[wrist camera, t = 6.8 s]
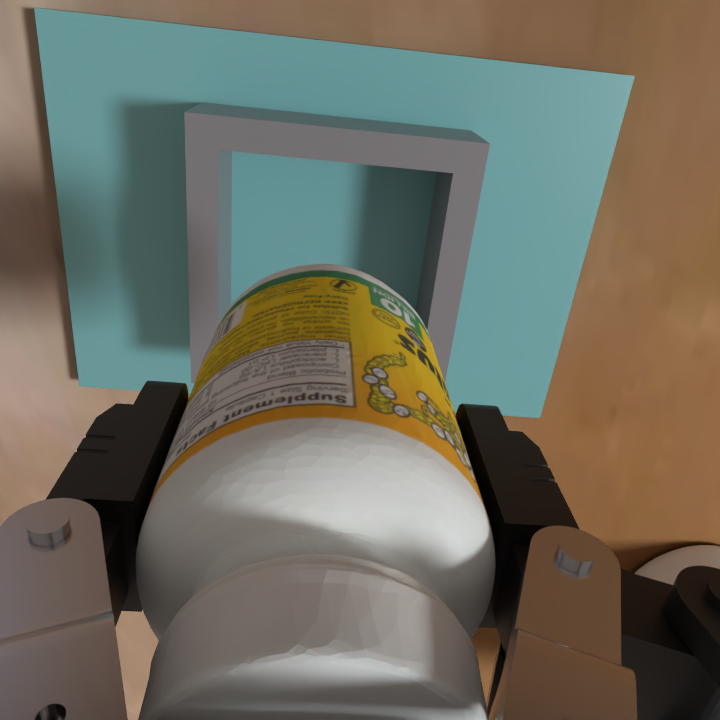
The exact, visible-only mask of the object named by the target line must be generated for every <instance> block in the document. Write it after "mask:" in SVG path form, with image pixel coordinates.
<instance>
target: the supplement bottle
mask: <svg viewBox="0 0 720 720" xmlns="http://www.w3.org/2000/svg"><path fill="white" fill-rule="evenodd" d="M495 568H496V563H495V547H494V540H493V535H492V530H491V525H490V521H489V517H488V515H487V512H486V509H485V506H484V503H483V500H482V497H481V494H480V491H479V488H478V485H477V482H476V478H475V476H474V473H473V470H472V466H471V463H470V461H469V458H468V454H467V451H466V447H465V445H464V442H463V439H462V436H461V432H460V429H459V426H458V423H457V420H456V416H455V413H454V410H453V405H452V403H451V401H450V398H449V394H448V391H447V387H446V385H445V381H444V378H443V375H442V372H441V369H440V367H439V364H438V361H437V357H436V354H435V351H434V348H433V344H432V342H431V340H430V336H429V334H428V331H427V329H426V327H425V325H424V324H423V322H422V320H421V318H420V317H419V315H418V314H417V313H416V311H415V310H414V309H413V308H412V306H411V305H410V304H409V303H408V302H407V301H406V300H405V299H404V298H402V297H401V296H400V295H399V294H398V293H396V292H395V291H394V290H392V289H391V288H390V287H388V286H387V285H385V284H384V283H383V282H381V281H379V280H378V279H376V278H374V277H372V276H371V275H369V274H366V273H364V272H361V271H359V270H356V269H353V268H350V267H345V266H341V265H334V264H312V265H302V266H297V267H293V268H289V269H286V270H282V271H279V272H276V273H274V274H271V275H269V276H267V277H265V278H263V279H262V280H260V281H258V282H257V283H255V284H254V285H252V286H251V287H250V288H248V289H247V290H246V291H244V292H243V293H242V294H241V295H240V296H239V297H238V298H237V299H236V300H235V301H234V302H233V303H232V304H231V305H230V307H229V308H228V310H227V311H226V312H225V314H224V315H223V317H222V318H221V320H220V322H219V324H218V326H217V328H216V330H215V333H214V335H213V338H212V340H211V343H210V345H209V347H208V350H207V352H206V354H205V357H204V359H203V361H202V364H201V366H200V369H199V372H198V375H197V378H196V381H195V384H194V386H193V389H192V392H191V394H190V397H189V400H188V402H187V405H186V408H185V410H184V413H183V416H182V418H181V421H180V423H179V426H178V429H177V431H176V434H175V436H174V439H173V442H172V444H171V447H170V449H169V452H168V455H167V457H166V460H165V463H164V465H163V468H162V471H161V473H160V476H159V479H158V481H157V484H156V487H155V489H154V492H153V495H152V498H151V501H150V503H149V506H148V509H147V512H146V515H145V518H144V521H143V523H142V527H141V530H140V534H139V538H138V544H137V550H136V581H137V588H138V593H139V598H140V601H141V604H142V608H143V611H144V614H145V616H146V618H147V620H148V622H149V625H150V627H151V629H152V631H153V632H154V634H155V635H156V637H157V638H158V640H159V642H158V645H157V647H156V650H155V653H154V655H153V658H152V662H151V668H150V676H149V680H148V684H147V688H146V692H145V696H144V700H143V704H142V708H141V711H140V715H139V719H138V720H489V718H488V713H487V708H486V703H485V698H484V692H483V687H482V682H481V677H480V671H479V664H478V659H477V655H476V650H475V648H474V646H473V644H472V642H471V639H472V638H473V636H474V635H475V633H476V631H477V630H478V628H479V626H480V624H481V622H482V620H483V618H484V616H485V613H486V611H487V608H488V605H489V602H490V599H491V596H492V591H493V586H494V579H495Z"/></svg>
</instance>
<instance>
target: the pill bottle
mask: <svg viewBox="0 0 720 720" xmlns="http://www.w3.org/2000/svg"><path fill="white" fill-rule="evenodd" d="M690 566H709V567H714V568H718V569H720V546H715V545H696V546H689V547H684V548H680V549H676V550H673V551H670V552H667V553H665V554H663V555H660V556H658V557H656V558H655V559H653V560H651V561H649V562H648V563H646V564H645V565H644V566H642V567H641V568H640V569H638V570H637V571H636V572H635V573H634V574H637V575H640V576H644V577H647V578H650V579H654V580H657V581H661V582H664V583H668V584H671V585H673V584H674V582H675V580H676V577H677V575H678V574H679V572H680V571H682V570H683V569H685V568H687V567H690Z"/></svg>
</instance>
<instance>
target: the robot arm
mask: <svg viewBox="0 0 720 720" xmlns="http://www.w3.org/2000/svg"><path fill="white" fill-rule="evenodd" d="M187 402H188V388H187V384H186V383H177V382H162V381H146V383H145V384H144V386H143V388H142V390H141V392H140V393H139V395H138V397H137V399H136V401H135V403H134V404H133V405H131V404H115V405H114V406H112V407H111V408H109V409H108V410H107V411H105V412H104V413H102V414H101V415H99V416H98V417H96V419H95V421H94V422H93V424H92V425H91V427H90V429H89V430H88V432H87V433H86V438H83V440H82V442H81V443H80V445H79V446H78V448H77V452H75V453H74V454H73V456H72V458H71V459H70V461H69V463H68V464H67V466H66V467H65V469H64V471H63V472H62V474H61V475H60V477H59V479H58V480H57V482H56V484H55V485H54V487H53V488H52V490H51V492H50V493H49V495H48V496H47V498H46V500H43V501H39V502H36V503H33V504H30V505H28V506H26V507H23V508H21V509H20V510H18V511H16V512H15V513H13V514H12V515H11V516H9V517H8V518H7V519H6V520H5V521H4V522H3V524H2V525H1V526H0V720H128V719H127V711H126V704H125V697H124V689H123V682H122V674H121V667H120V660H119V652H118V645H117V638H116V630H115V627H116V624H117V622H118V619H119V616H120V613H121V611H138V612H142V609H143V608H142V604H141V601H140V598H139V593H138V588H137V581H136V550H137V544H138V538H139V534H140V530H141V527H142V523H143V521H144V518H145V515H146V512H147V509H148V506H149V503H150V501H151V498H152V495H153V492H154V489H155V487H156V484H157V481H158V479H159V476H160V473H161V471H162V468H163V465H164V463H165V460H166V457H167V455H168V452H169V449H170V447H171V444H172V442H173V439H174V436H175V434H176V431H177V429H178V426H179V423H180V421H181V418H182V416H183V413H184V410H185V408H186V405H187ZM456 420H457V423H458V426H459V429H460V432H461V436H462V439H463V442H464V445H465V447H466V451H467V454H468V458H469V461H470V463H471V466H472V470H473V473H474V476H475V478H476V482H477V485H478V488H479V491H480V494H481V497H482V500H483V503H484V506H485V509H486V512H487V515H488V517H489V521H490V525H491V530H492V535H493V540H494V547H495V563H496V568H495V579H494V586H493V591H492V596H491V599H490V602H489V605H488V608H487V611H486V613H485V616H484V618H483V620H482V622H481V624H480V626H479V627H487V628H498V632H499V636H500V639H501V641H500V645H499V648H498V651H497V655H496V658H495V663H494V668H493V673H492V678H491V682H490V687H489V692H488V697H487V702H486V708H487V713H488V718H489V720H720V569H718V568H714V567H709V566H690V567H687V568H685V569H683V570H682V571H680V572H679V574H678V575H677V577H676V580H675V582H674V584H673V585H671V584H668V583H664V582H661V581H657V580H654V579H650V578H647V577H644V576H640V575H637V574H634V573H631V572H628V571H625V570H623V569H621V568H620V564H619V562H618V559H617V558H616V556H615V554H614V553H613V552H612V551H611V549H610V548H609V547H608V546H607V545H606V544H604V543H603V542H602V541H601V540H599V539H598V538H596V537H594V536H593V535H591V534H589V533H587V532H585V531H582V530H580V529H579V527H578V525H577V523H576V521H575V519H574V517H573V515H572V513H571V511H570V509H569V507H568V505H567V503H566V501H565V499H564V497H563V495H562V493H561V491H560V489H559V487H558V485H557V483H555V479H554V476H553V474H552V472H551V470H550V468H548V467H547V466H548V464H547V462H546V460H545V458H544V456H543V454H542V452H541V450H540V448H539V447H538V446H537V445H536V444H535V443H534V442H533V441H531V440H530V439H529V438H528V437H527V436H526V435H525V434H524V433H523V432H519V431H509V430H508V428H507V425H506V423H505V421H504V419H503V416H502V414H501V412H500V409H499V408H498V407H497V406H491V405H477V404H463V403H462V404H460V405H459V407H458V409H457V413H456Z"/></svg>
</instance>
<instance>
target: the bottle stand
mask: <svg viewBox="0 0 720 720" xmlns="http://www.w3.org/2000/svg"><path fill="white" fill-rule="evenodd" d="M34 11H35V19H36V28H37V36H38V44H39V53H40V61H41V69H42V78H43V86H44V94H45V103H46V111H47V120H48V128H49V136H50V145H51V153H52V161H53V170H54V178H55V186H56V195H57V203H58V212H59V220H60V228H61V237H62V245H63V253H64V262H65V270H66V278H67V287H68V295H69V304H70V312H71V320H72V329H73V337H74V345H75V354H76V362H77V370H78V379H79V386H84V387H98V388H113V389H127V390H142V388H143V386H144V384H145V383H146V381H162V382H177V383H186V384H187V388H188V394H191V392H192V389H193V386H194V384H195V381H196V378H197V375H198V372H199V369H200V366H201V364H202V361H203V359H204V357H205V354H206V352H207V350H208V347H209V345H210V343H211V340H212V338H213V335H214V333H215V330H216V328H217V326H218V324H219V322H220V320H221V318H222V317H223V315H224V314H225V312H226V311H227V310H228V308H229V307H230V305H231V304H232V303H233V302H234V301H235V300H236V299H237V298H238V297H239V296H240V295H241V294H242V293H243V292H244V291H246V290H247V289H248V288H250V287H251V286H252V285H254V284H255V283H257V282H258V281H260V280H262V279H263V278H265V277H267V276H269V275H271V274H274V273H276V272H279V271H282V270H286V269H289V268H293V267H297V266H302V265H312V264H334V265H341V266H345V267H350V268H353V269H356V270H359V271H361V272H364V273H366V274H369V275H371V276H372V277H374V278H376V279H378V280H379V281H381V282H383V283H384V284H385V285H387V286H388V287H390V288H391V289H392V290H394V291H395V292H396V293H398V294H399V295H400V296H401V297H402V298H404V299H405V300H406V301H407V302H408V303H409V304H410V305H411V306H412V308H413V309H414V310H415V311H416V313H417V314H418V315H419V317H420V318H421V320H422V322H423V324H424V325H425V327H426V329H427V331H428V334H429V336H430V340H431V342H432V344H433V348H434V351H435V354H436V357H437V361H438V364H439V367H440V369H441V372H442V375H443V378H444V381H445V385H446V387H447V391H448V394H449V398H450V401H451V403H452V405H453V410H454V412H457V409H458V407H459V405H460V404H462V403H463V404H477V405H491V406H497V407H498V408H499V409H500V412H501V414H502V415H504V416H519V417H533V418H540V417H541V413H542V409H543V406H544V402H545V398H546V395H547V391H548V388H549V384H550V380H551V377H552V373H553V370H554V366H555V362H556V359H557V355H558V352H559V348H560V344H561V341H562V337H563V333H564V330H565V326H566V323H567V319H568V315H569V312H570V308H571V305H572V301H573V297H574V294H575V290H576V286H577V283H578V279H579V276H580V272H581V268H582V265H583V261H584V258H585V254H586V250H587V247H588V243H589V239H590V236H591V232H592V229H593V225H594V221H595V218H596V214H597V211H598V207H599V203H600V200H601V196H602V192H603V189H604V185H605V182H606V178H607V174H608V171H609V167H610V164H611V160H612V156H613V153H614V149H615V146H616V142H617V138H618V135H619V131H620V127H621V124H622V120H623V117H624V113H625V109H626V106H627V102H628V99H629V95H630V91H631V88H632V84H633V80H634V77H635V76H631V75H623V74H615V73H606V72H597V71H588V70H579V69H571V68H562V67H553V66H544V65H535V64H527V63H518V62H509V61H500V60H491V59H483V58H474V57H465V56H456V55H447V54H439V53H430V52H421V51H412V50H403V49H395V48H386V47H377V46H368V45H359V44H351V43H342V42H333V41H324V40H315V39H307V38H298V37H289V36H280V35H271V34H263V33H254V32H245V31H236V30H227V29H219V28H210V27H201V26H192V25H183V24H175V23H166V22H157V21H148V20H139V19H131V18H122V17H113V16H104V15H95V14H87V13H78V12H69V11H60V10H51V9H43V8H34Z"/></svg>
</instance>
